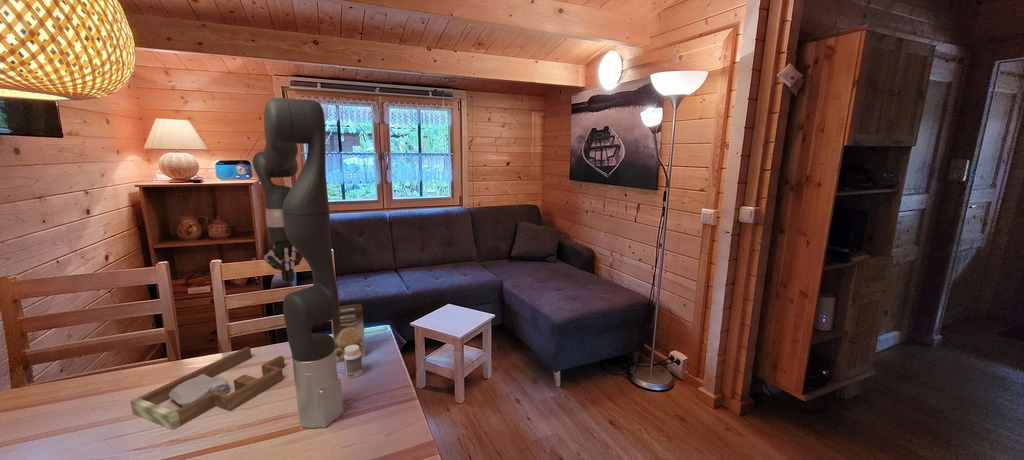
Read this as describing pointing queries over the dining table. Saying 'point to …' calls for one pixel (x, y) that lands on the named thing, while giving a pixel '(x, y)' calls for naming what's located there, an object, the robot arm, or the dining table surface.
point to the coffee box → (348, 330)
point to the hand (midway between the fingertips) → (288, 281)
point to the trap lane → (243, 392)
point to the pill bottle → (353, 361)
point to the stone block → (198, 389)
